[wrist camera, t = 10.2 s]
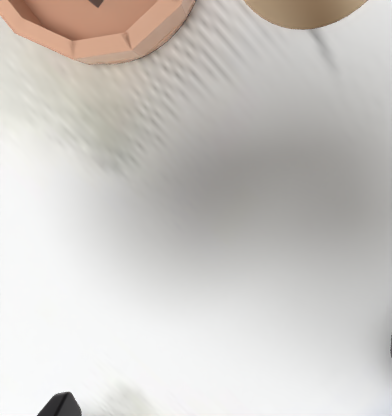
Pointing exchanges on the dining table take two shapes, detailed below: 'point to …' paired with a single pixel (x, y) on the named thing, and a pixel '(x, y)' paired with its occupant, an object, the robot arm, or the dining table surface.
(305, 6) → the cork coaster
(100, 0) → the canister
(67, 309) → the dining table surface
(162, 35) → the ring dish
